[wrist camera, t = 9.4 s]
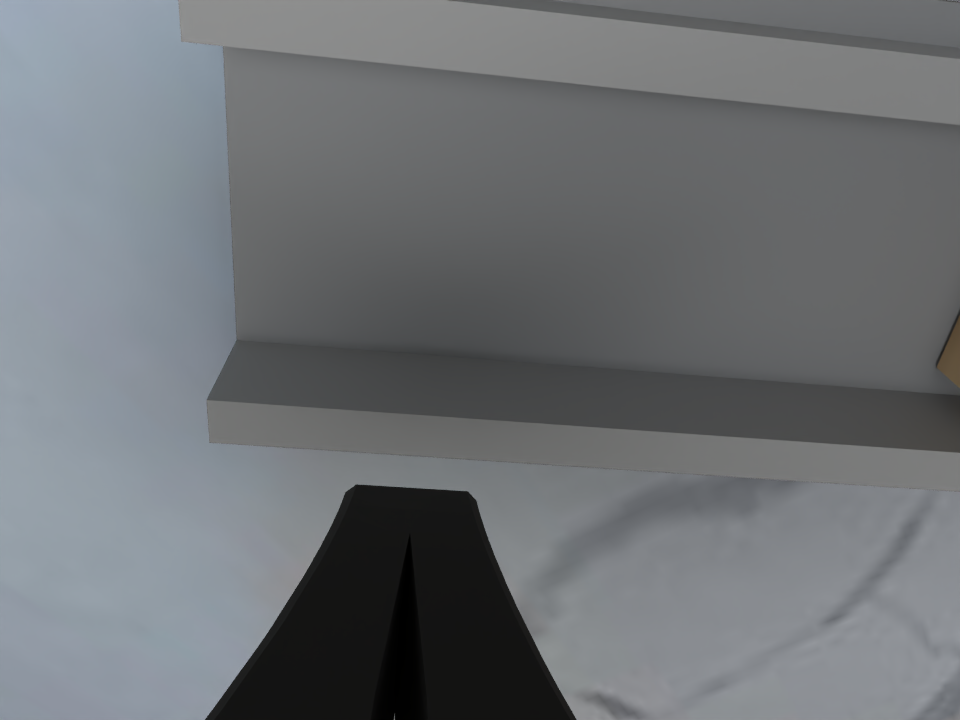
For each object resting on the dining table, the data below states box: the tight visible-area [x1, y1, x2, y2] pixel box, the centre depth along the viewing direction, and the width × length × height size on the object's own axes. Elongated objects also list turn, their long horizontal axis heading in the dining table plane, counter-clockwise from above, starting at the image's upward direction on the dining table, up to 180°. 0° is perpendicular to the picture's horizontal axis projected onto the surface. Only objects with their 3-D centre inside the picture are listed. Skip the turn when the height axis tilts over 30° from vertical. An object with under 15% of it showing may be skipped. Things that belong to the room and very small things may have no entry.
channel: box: [178, 0, 960, 492], centre depth 16 cm, size 10×24×4 cm, turn 84°
